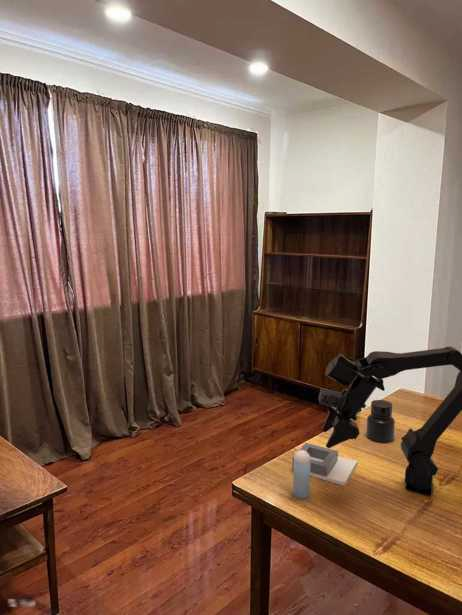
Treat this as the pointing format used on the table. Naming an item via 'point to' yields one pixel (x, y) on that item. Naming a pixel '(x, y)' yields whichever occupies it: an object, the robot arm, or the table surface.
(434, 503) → the table surface
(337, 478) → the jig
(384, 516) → the table surface
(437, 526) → the table surface
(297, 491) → the ball-topped blue post
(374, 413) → the ink bottle
